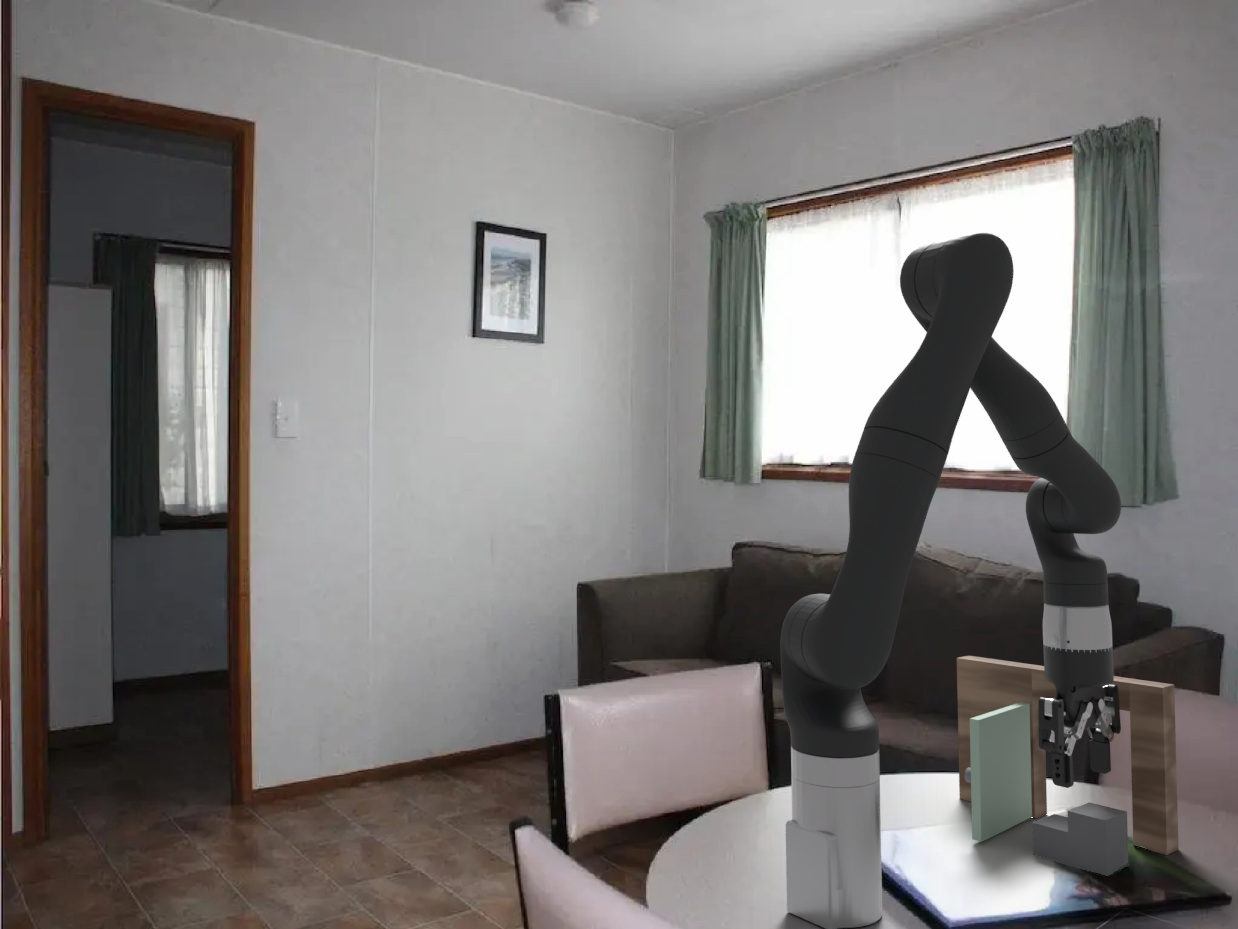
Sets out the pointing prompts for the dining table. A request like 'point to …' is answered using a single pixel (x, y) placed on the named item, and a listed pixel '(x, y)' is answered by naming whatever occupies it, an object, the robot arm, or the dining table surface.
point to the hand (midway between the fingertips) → (1082, 779)
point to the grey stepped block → (1084, 838)
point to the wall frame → (1012, 683)
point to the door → (1000, 770)
